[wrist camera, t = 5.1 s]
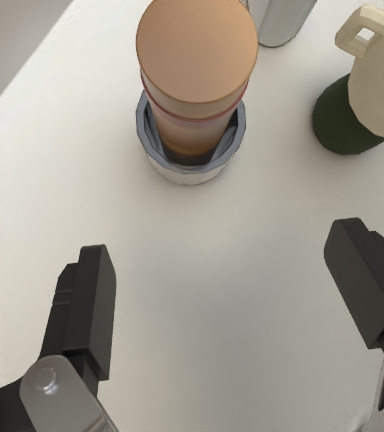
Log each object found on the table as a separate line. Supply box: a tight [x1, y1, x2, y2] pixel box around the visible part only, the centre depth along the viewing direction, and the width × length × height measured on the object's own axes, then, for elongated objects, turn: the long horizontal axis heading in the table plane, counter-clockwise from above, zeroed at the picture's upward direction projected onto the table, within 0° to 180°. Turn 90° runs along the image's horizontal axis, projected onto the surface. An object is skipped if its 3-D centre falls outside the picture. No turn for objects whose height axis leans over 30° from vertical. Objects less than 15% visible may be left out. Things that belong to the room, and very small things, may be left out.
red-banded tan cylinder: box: [136, 0, 258, 166], centre depth 20 cm, size 5×5×15 cm
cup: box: [136, 90, 246, 185], centre depth 24 cm, size 7×7×6 cm
